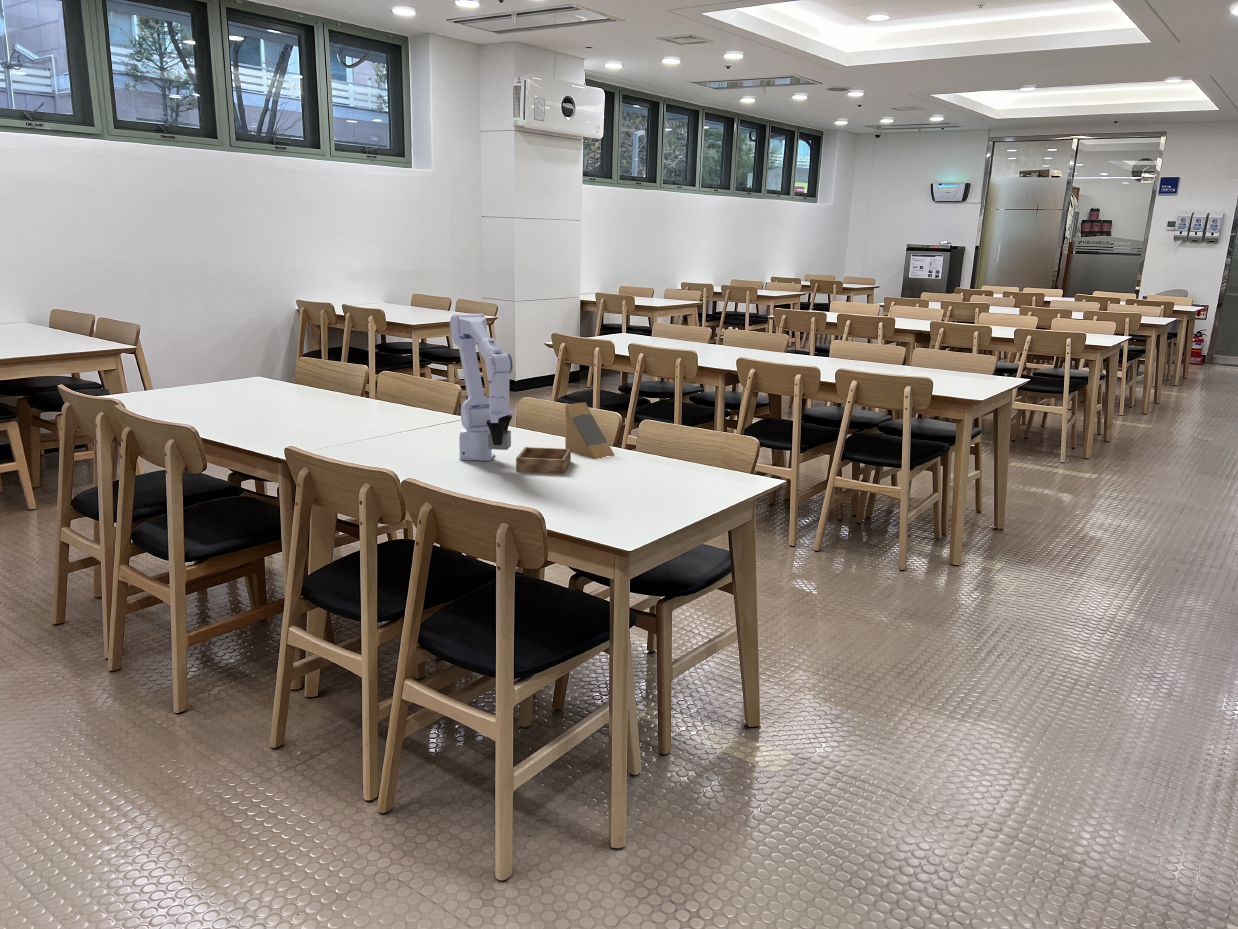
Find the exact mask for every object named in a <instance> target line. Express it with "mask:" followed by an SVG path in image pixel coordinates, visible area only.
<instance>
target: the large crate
mask: <svg viewBox="0 0 1238 929" xmlns="http://www.w3.org/2000/svg"><path fill="white" fill-rule="evenodd" d="M520 451H521V452H520V453H519V454H518V455H517V456H516V458H515V470H516V472H520V473H521V472H522V473H543V474H544V473H545V474H546V473H547V474H561V475H562V474H565V473H566V471H567V470H568V467H569V466H570V464H571V462H572V460H571V457H572V456H571V454H572V452H571V449H565V448H558V447H532V446H524V448H523V449H522V450H520Z"/></svg>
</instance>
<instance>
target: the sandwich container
mask: <svg viewBox="0 0 1238 929" xmlns="http://www.w3.org/2000/svg"><path fill="white" fill-rule="evenodd" d="M564 408H565V409H564V410H565V414H564V415H565V420H564V421H565V424H564V425H565V440H564V441H565V442H564V443H565V445H564V446H565V448H564V449H571V453H573V454H577V455H579V454H580V455H579V456H582V457H586V456H588V457H587V458H590V457H591V458H590V459H593V458H594V460H599V459H598V458H600V459H603V458H602V457H606V456H611V457H615V456H616V454H615V453H614V451H613V449H612V448H611V446H610V444H609V443H608V441H607V438H606V437H605V436H604V434H603V432H602V431H601V429H600V427H599V425H598V423H597V421H596V420H595V418H594V416H593V413H592V412H591V410H590V409H589V407H588V405H587V402H586V401H585V402H576V403H570V404H569V403H568V404H565V406H564ZM614 455H615V456H614ZM606 458H607V457H606Z"/></svg>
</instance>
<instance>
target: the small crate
mask: <svg viewBox="0 0 1238 929" xmlns="http://www.w3.org/2000/svg"><path fill="white" fill-rule="evenodd" d="M511 446H512V431H511V430H509V429H508V430H504V431H503V438H502V443H501V445H494V444H493V440H492V436H491V432H489V433H488V449H492V450H499V451H500V450H501V451H508V449H509V448H511Z"/></svg>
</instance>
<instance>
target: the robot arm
mask: <svg viewBox="0 0 1238 929" xmlns="http://www.w3.org/2000/svg"><path fill="white" fill-rule="evenodd" d="M487 326H488V323H487V318H486V316H485V314H484V313H482V312H479V313H453V314H452V315H451V317H450V320H449V330H450V334H451V340H452V342H453V344H454V345H456V346H457V347H458V350H459V356H460V357H459V358H460V362H461V367H462V372H463V378H464V382H465V388H466V389H465V390H466V395H467V399H466V400H465V401H464V402H462V404H461V405H460V421H461V424H462V427H463V428H461V430H460V431H459V440H458V441H459V442H458V444H459V447H458V448H459V458H458V459H459V460H463V461H481V462H482V461H484V462H485V461H486V462H490V461H491V460H492V459H493V458H494V457H495V456H496V453H494V452H492V450H493V449H488V433H489V432H491V436H492V440H493V444H494V445H501V443H502V438H503V431H504V430H509V425H510V423H511V420H512V419H513V415H514V411H513V410H510V374H512V373H513V372H512V371H513V370H514V369H513V368H514V362H513V358H512V356H511V354H510V353H509V352H506V351H503V349H502V348H501V347H500V344H499V343H498V341H496V339H495V338H492V337H491V336H490V335H489V333H488V331H487ZM477 345H478V352H479V353H480V355H481V356H482V358H483V360H484V362H485V363H484V364H485V365H484V367H485V371H486V378H487V380H488V397H487V396H486V395H485V393H484V388H483V382H482V377H481V371H480V366H479V360H478V356H477V351H476V350H477V349H476V346H477Z"/></svg>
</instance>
